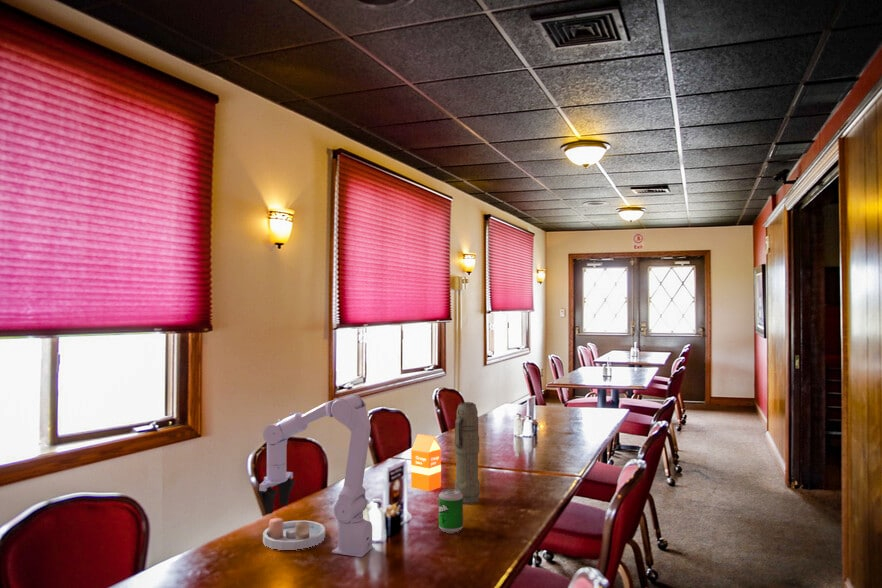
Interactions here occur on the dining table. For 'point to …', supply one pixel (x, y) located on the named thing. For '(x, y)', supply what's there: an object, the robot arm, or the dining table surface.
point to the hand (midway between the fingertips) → (276, 508)
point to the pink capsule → (276, 528)
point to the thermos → (467, 452)
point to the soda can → (450, 510)
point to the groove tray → (290, 537)
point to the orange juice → (426, 463)
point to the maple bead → (302, 530)
